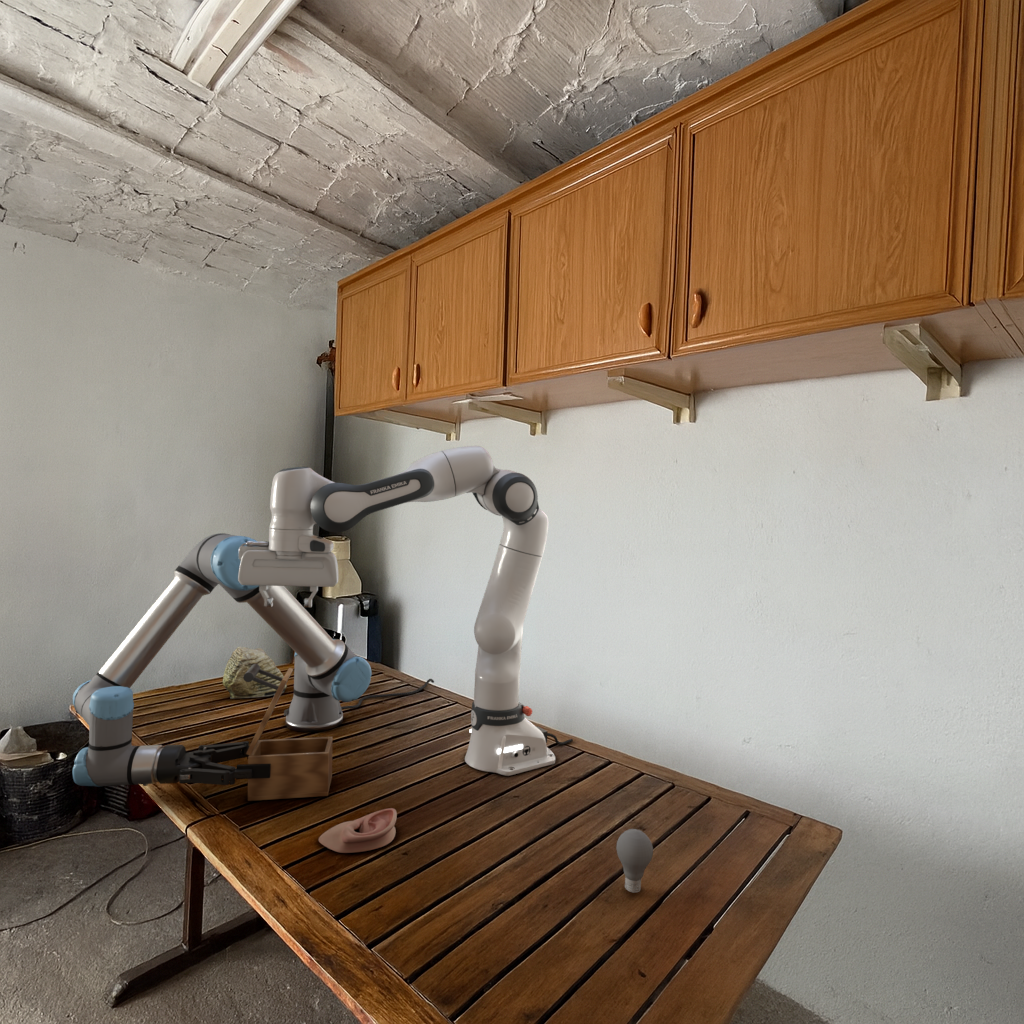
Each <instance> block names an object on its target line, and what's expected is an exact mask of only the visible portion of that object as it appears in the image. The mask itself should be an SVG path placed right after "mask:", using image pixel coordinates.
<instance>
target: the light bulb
mask: <svg viewBox="0 0 1024 1024" xmlns="http://www.w3.org/2000/svg"><path fill="white" fill-rule="evenodd" d="M615 849H616V854H617V857H618V859H619V861H620V863H621V865H622V867H623V873H624V874H623V875H624V876H625V878H624V888H625V890H627V891H628V892H630V893H634V894H635V893H639V892H640V891H641V889H642V887H641V886H642V879H643V877H644V875H645V871H646V868H647V867H648V866H649V864H650V863H651V861H652V859H653V855H654V847H653V843H652V841H651V838H649V836H648V835H647V834H646V833H645V832H643V831H642V830H641V829H636V828H629V829H627V830H625V831H623V832H622V833H621V834H620V835H619V837H618V839H617V841H616V847H615Z"/></svg>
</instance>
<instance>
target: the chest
mask: <svg viewBox="0 0 1024 1024" xmlns="http://www.w3.org/2000/svg"><path fill="white" fill-rule="evenodd" d="M247 764H271V770H270V778H256V779H247V801H248V802H253V801H268V800H270V801H271V800H285V799H299V798H300V799H301V798H314V797H317V798H318V797H328V796H329V793H330V792H329V791H330V786H331V783H332V778H333V736H318V737H317V736H315V737H298V738H275V739H259V741H258V742H257V744H256V746H255V748H254V750H253V751H252V753H251V755H249V757H248V759H247Z"/></svg>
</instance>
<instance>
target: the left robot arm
mask: <svg viewBox="0 0 1024 1024" xmlns="http://www.w3.org/2000/svg"><path fill="white" fill-rule="evenodd" d="M247 541H254V542H259V541H258V540H256V539H254V538H251V537H249V536H246V535H245V536H244V535H235V534H229V533H225V532H224V533H223V532H220V533H213V534H210V535H208V536H205V537H204V538H203V539H201V540H200V541H198V543H197V544H196V545H195V546H194V547H192V549H191V550H190V551H189V552H188V553H187V554H186V556H185V557H184V559H183V560H182V561H181V562H180V564H179V565H178V566H177V567H176V568H175V569H174V571H173V575H174V577H173V579H172V580H171V582H170V583H169V584H168V585H167V587H166V588H165V589H164V590H163V591H162V593H161V594H160V595H159V596H158V598H157V599H156V600H155V601H154V602H153V604H152V605H151V606H150V607H149V608H148V610H147V611H146V612H145V614H144V615H143V616H142V618H140V620H139V621H138V622H137V624H136V625H135V626H134V627H133V628H132V629H131V630H130V632H129V633H128V634H127V635H126V637H125V638H124V639H123V641H121V643H120V644H119V645H118V647H117V648H116V649H115V651H113V653H112V654H111V656H110V657H109V658H108V659H107V660H106V661H105V663H104V664H103V665H102V666H101V668H100V669H99V670H98V671H97V672H96V673H95V675H94V676H93V677H91V679H89V680H86V681H84V682H83V683H81V684H80V685H79V686H77V688H76V689H75V691H74V692H73V694H72V705H73V707H74V710H75V712H76V713H77V714H78V715H79V716H80V717H81V718H82V719H83V721H84V722H85V723H86V724H87V725H88V734H89V735H88V739H89V740H88V746H86V747H83V748H82V749H80V750H79V751H78V753H77V755H76V757H75V758H74V760H73V761H74V764H73V767H72V779H73V782H74V783H75V784H76V785H78V786H80V787H97V788H101V787H103V788H104V787H112V786H128V785H129V786H130V785H131V786H133V785H134V786H135V785H142V786H143V787H147V786H148V785H154V784H157V783H159V785H167V784H168V785H169V784H178V783H179V784H202V785H203V784H205V785H216V786H229V785H230V786H232V785H235V784H236V780H248V779H256V778H270V770H271V764H248V763H246V764H245V763H244V764H243V763H242V764H237V765H236V766H231V765H228V764H221V763H225V762H229V761H235V760H240V759H244V758H246V759H247V760H248V757H249V755H248V754H246V753H247V751H248V749H249V747H250V742H249V741H248V740H245V741H238V742H236V741H235V742H227V743H219V744H201V745H199V746H198V750H197V749H196V750H193V751H189V752H188V751H187V750H186V749H187V748H186V746H184V745H183V744H167V745H165V746H163V745H162V744H152V745H151V744H149V745H147V744H146V745H133V744H132V743H133V724H134V723H133V720H134V707H135V702H134V692H133V690H132V689H131V687H133V685H134V684H135V682H136V681H137V680H138V679H139V677H140V676H141V675H142V674H143V672H144V671H145V670H146V668H147V667H148V666H149V665H150V664H151V662H152V661H153V660H154V659H155V657H156V656H157V654H158V653H159V652H160V651H161V649H162V648H163V647H164V646H165V644H166V643H167V642H168V641H169V639H170V638H171V637H172V635H173V634H174V633H175V632H176V631H177V629H178V628H179V626H180V625H181V624H182V623H183V621H185V619H186V618H187V617H188V615H189V614H190V612H191V611H192V610H193V609H194V608H195V606H196V605H197V604H198V602H199V601H200V600H201V599H202V597H203V596H207V595H211V593H212V592H213V590H214V589H215V588H217V586H220V587H221V588H222V589H223V590H224V591H225V592H226V593H227V594H228V595H229V596H230V597H231V598H232V599H233V600H234V601H235V602H236V603H239V604H241V603H242V604H244V603H247V604H248V605H249V606H250V607H251V609H253V611H255V613H256V614H258V615H259V616H260V617H261V618H262V620H263V621H265V623H266V624H267V625H268V626H269V627H270V628H271V629H272V630H273V631H274V632H275V633H276V634H277V635H278V636H279V638H281V639H282V640H283V641H284V642H285V643H286V644H287V646H289V647H290V648H291V650H292V651H294V655H293V657H294V668H293V671H294V672H293V695H292V696H293V697H292V699H291V702H290V704H289V708H287V709H285V710H284V711H283V716H285V726H286V728H287V729H289V730H291V731H294V732H295V731H296V732H301V733H316V732H325V731H329V730H332V729H335V728H337V727H339V726H340V725H342V723H343V722H344V713H343V710H350V709H357V708H360V706H361V705H362V702H363V701H364V700H365V701H366V700H369V699H377V698H390V697H402V696H410V695H414V694H417V693H419V692H420V691H422V690H423V689H425V688H426V687H427V686H428V685H429V684H430V682H431V683H435V680H434V679H432V678H429V679H427V680H426V681H425V682H424V684H423V685H421V686H420V687H418V688H417V689H415V690H412V691H407V692H406V691H405V692H395V693H393V692H392V693H384V694H371V695H366V696H363V695H364V694H365V693H366V691H367V690H368V688H369V686H370V684H371V678H372V675H373V674H372V668H371V665H370V663H369V661H367V660H366V659H365V658H363V657H362V656H359V655H357V654H356V653H354V652H353V651H352V650H351V648H350V647H349V646H348V645H347V644H346V643H345V642H344V641H343V640H342V639H338V638H332V637H331V636H330V634H328V632H327V631H326V630H325V629H324V628H323V627H322V626H321V625H320V624H319V623H318V621H317V620H316V619H315V618H314V617H313V616H312V615H311V614H310V612H309V611H308V610H307V609H306V607H304V605H303V604H301V603H300V602H299V600H297V599H296V597H295V596H294V595H293V594H292V593H291V591H290V590H288V588H287V587H286V586H268V589H267V590H266V592H267V594H268V596H269V597H270V598H273V601H272V602H273V606H272V607H264V598H263V596H262V595H261V593H260V591H259V585H241V584H240V582H239V581H238V574H239V567H240V562H241V561H240V559H239V548H240V546H241V545H242V544H244V543H246V542H247ZM244 546H247V545H244ZM256 547H260V546H256ZM362 696H363V697H362ZM359 698H360V699H359ZM358 699H359V700H358ZM357 700H358V703H357V704H354V705H343V706H341V702H343V703H350V702H353V701H357Z"/></svg>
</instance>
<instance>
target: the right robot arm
mask: <svg viewBox="0 0 1024 1024" xmlns="http://www.w3.org/2000/svg"><path fill="white" fill-rule="evenodd" d="M471 493H472V495H473V497H474V498H475V500H476V502H477V503H478V504H479V506H480V507H482V509H484V510H486V511H488V512H490V513H492V514H493V515H495V516H499V517H501V518H502V521H503V531H502V534H501V538H500V540H499V544H498V548H497V552H496V554H495V559H494V562H493V566H492V569H491V572H490V576H489V578H488V581H487V584H486V588H485V591H484V593H483V597H482V599H481V602H480V606H479V609H478V611H477V612H478V613H477V616H476V619H475V622H474V627H473V634H474V638H475V642H476V644H477V645H478V646H477V654H476V663H475V669H474V688H473V689H474V690H473V691H474V692H473V700H472V703H471V710H470V725H471V728H470V729H469V733H470V736H469V743H468V746H467V750H466V753H465V755H464V761H465V763H466V764H467V765H468V766H469V767H471V768H473V769H475V770H479V771H482V772H487V773H488V772H489V773H496V774H498V775H502V776H506V777H509V776H513V775H516V774H517V775H518V774H522V773H524V772H528V771H533V770H537V769H540V768H544V767H547V766H551V765H555V764H556V755H555V753H554V752H553V751H552V750H551V749H550V748H549V747H548V746H547V744H548V737H551V738H553V739H554V742H555V743H556V744H557V745H559V746H564V745H568V744H570V743H572V742H574V739H573V738H569V739H567V740H565V741H559V740H558V737H557V736H556V735H555V734H553V733H550V732H548V730H547V729H546V730H545V729H544V728H542V727H540V726H538V725H535V724H534V723H532V722H531V721H530V720H529V719H527V718H526V717H531V716H532V714H533V713H534V712H533V709H532V708H531V707H530V706H528V705H524V704H523V703H521V702H520V699H519V698H520V682H521V681H520V680H521V679H520V678H521V677H520V676H521V664H522V663H521V662H522V648H523V635H524V623H525V619H526V616H527V612H528V610H529V609H528V608H529V605H530V602H531V599H532V596H533V591H534V588H535V584H536V582H537V577H538V574H539V570H540V567H541V563H542V561H543V556H544V553H545V549H546V544H547V540H548V539H547V538H548V533H549V532H548V531H549V517H548V515H547V514H546V513H545V512H544V510H542V509H541V508H540V506H539V501H538V499H539V498H538V497H539V495H538V490H537V487H536V485H535V483H534V482H533V481H532V480H531V479H530V477H528V476H527V475H525V474H523V473H521V472H517V471H514V470H510V469H501V468H496V467H495V465H494V461H493V459H492V456H491V454H490V453H489V452H488V450H487V449H486V448H485V447H483V446H481V445H465V446H458V447H452V448H447V449H441V450H439V451H435V452H432V453H430V454H427V455H424V456H422V457H420V458H418V459H416V460H414V461H413V462H411V463H410V465H409V466H408V467H406V468H405V469H404V470H402V471H401V472H399V473H396V474H393V475H391V476H387V477H384V478H380V479H376V480H373V481H370V482H366V483H360V484H350V483H346V482H345V483H344V482H335V481H332V480H330V479H328V478H326V477H324V476H322V475H321V474H319V473H317V472H316V471H315V470H313V468H311V467H309V466H294V467H287V468H283V469H280V470H279V471H277V472H276V473H275V474H274V475H273V478H272V483H271V490H270V499H269V500H270V501H269V509H270V512H271V513H270V514H271V519H270V523H269V527H268V528H269V529H268V540H267V541H265V540H264V541H263V540H261V541H258V542H254V541H247V542H246V543H244V544H242V545H241V546H240V548H239V559H240V561H241V562H240V567H239V574H238V581H239V582H240V584H241V585H259V591H260V593H261V595H262V596H263V598H264V607H272V606H273V602H272V601H273V598H270V597H269V596H268V594H267V592H266V590H267V589H268V586H285V587H309V592H311V594H310V596H309V597H305V598H304V599H303V603H304V604H303V607H304V608H312V607H313V599H314V597H315V596H316V595H317V593H318V591H319V587H322V588H323V587H326V588H333V587H335V586H336V585H337V584H338V583H339V565H338V564H339V563H338V558H337V555H336V554H335V553H334V552H332V551H333V550H334V545H335V544H334V542H333V541H332V540H330V539H327V538H324V537H321V536H317V535H315V534H314V525H317V526H318V527H320V528H321V529H322V530H324V531H327V532H330V533H343V532H347V531H348V530H351V529H352V528H354V527H355V526H356V525H357V524H359V523H360V522H361V521H362V520H363V519H364V518H366V517H367V516H369V515H372V514H373V513H376V512H380V511H384V510H386V509H387V510H388V509H390V508H393V507H395V506H399V505H402V504H403V505H404V504H407V503H431V502H439V501H444V500H445V501H446V500H449V499H451V498H455V497H459V496H461V495H464V494H471ZM244 545H247V546H244ZM256 546H260V547H256Z"/></svg>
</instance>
